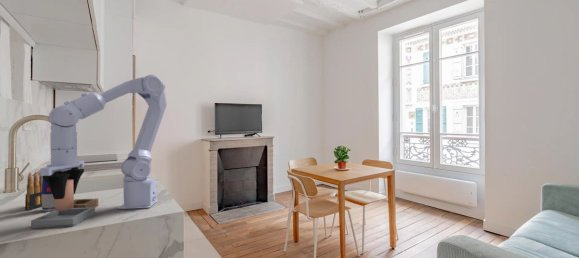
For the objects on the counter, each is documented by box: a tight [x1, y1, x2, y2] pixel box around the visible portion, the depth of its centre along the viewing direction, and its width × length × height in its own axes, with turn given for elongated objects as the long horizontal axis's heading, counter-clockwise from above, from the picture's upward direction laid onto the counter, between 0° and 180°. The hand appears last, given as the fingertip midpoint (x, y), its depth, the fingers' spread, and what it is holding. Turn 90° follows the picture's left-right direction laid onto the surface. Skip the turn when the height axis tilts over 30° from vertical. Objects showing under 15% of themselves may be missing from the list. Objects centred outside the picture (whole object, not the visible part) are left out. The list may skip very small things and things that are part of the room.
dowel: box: [55, 179, 75, 211], centre depth 75 cm, size 4×4×8 cm
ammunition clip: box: [24, 171, 42, 211], centre depth 90 cm, size 11×2×12 cm, turn 174°
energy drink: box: [41, 176, 55, 213], centre depth 85 cm, size 5×5×12 cm
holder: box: [74, 198, 99, 208], centre depth 85 cm, size 7×7×2 cm
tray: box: [30, 207, 96, 229], centre depth 75 cm, size 10×10×2 cm
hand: (64, 196), depth 75 cm, fingers closed on dowel, 4 cm apart
